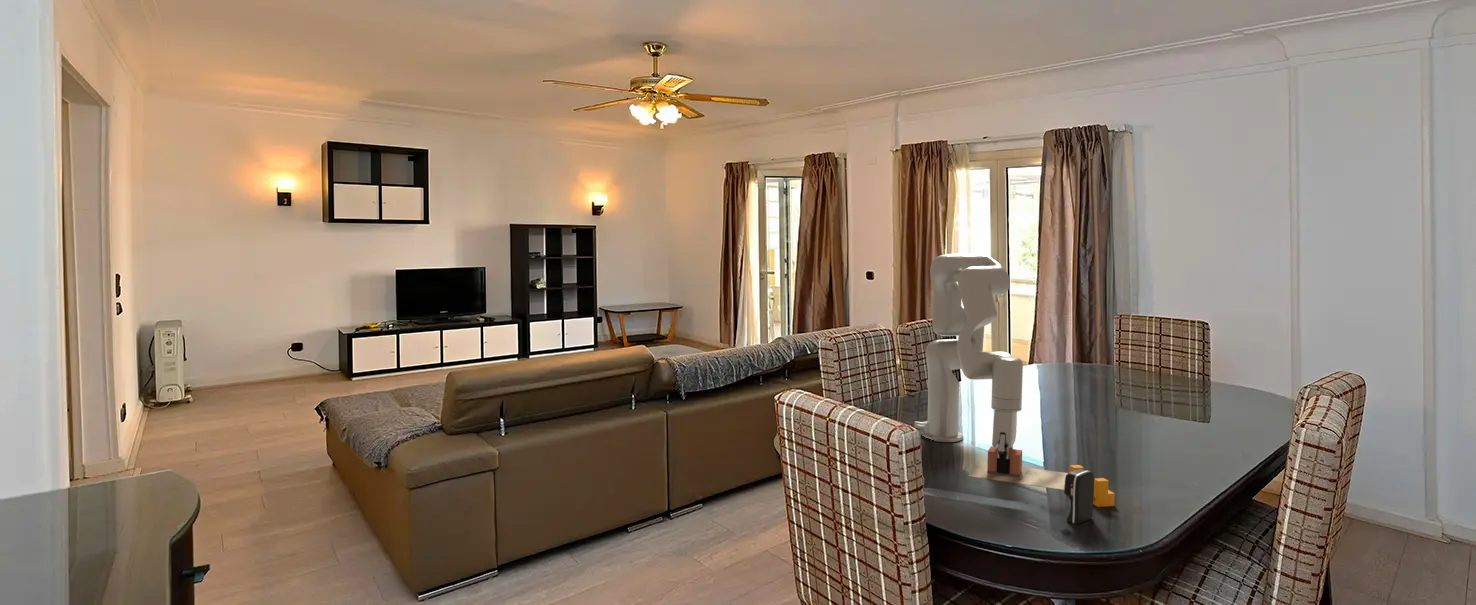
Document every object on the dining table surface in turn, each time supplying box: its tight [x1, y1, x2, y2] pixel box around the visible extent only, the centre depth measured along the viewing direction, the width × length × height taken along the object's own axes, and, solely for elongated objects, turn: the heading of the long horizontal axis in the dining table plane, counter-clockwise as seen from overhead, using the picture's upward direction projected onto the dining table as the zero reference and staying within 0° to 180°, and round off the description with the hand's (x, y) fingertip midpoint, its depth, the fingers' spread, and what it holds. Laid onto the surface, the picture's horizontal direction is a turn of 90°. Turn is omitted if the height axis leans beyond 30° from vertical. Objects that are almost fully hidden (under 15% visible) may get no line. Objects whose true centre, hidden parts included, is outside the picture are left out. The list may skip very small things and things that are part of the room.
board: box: [967, 460, 1069, 497], centre depth 193 cm, size 24×14×2 cm, turn 62°
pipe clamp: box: [1068, 464, 1116, 508], centre depth 180 cm, size 12×4×6 cm, turn 7°
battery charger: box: [1063, 469, 1095, 525], centre depth 166 cm, size 7×4×11 cm, turn 124°
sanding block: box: [987, 446, 1023, 478], centre depth 194 cm, size 8×5×6 cm, turn 62°
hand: (1004, 469), depth 195 cm, fingers closed on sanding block, 5 cm apart
